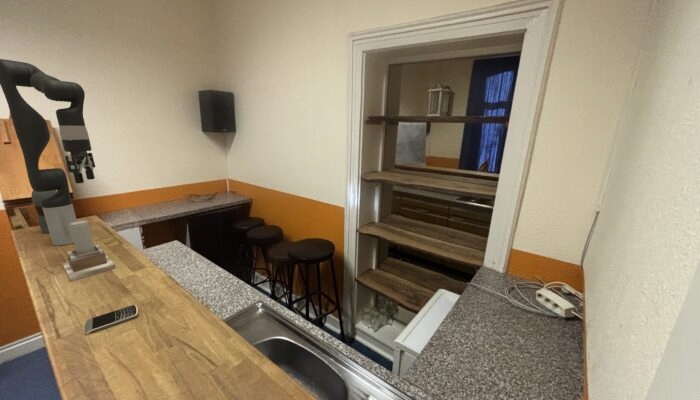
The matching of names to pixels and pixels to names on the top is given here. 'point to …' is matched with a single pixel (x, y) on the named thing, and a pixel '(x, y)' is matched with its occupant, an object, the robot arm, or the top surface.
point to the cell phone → (110, 319)
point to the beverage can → (82, 237)
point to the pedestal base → (88, 271)
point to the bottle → (36, 200)
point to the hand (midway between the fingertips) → (85, 181)
